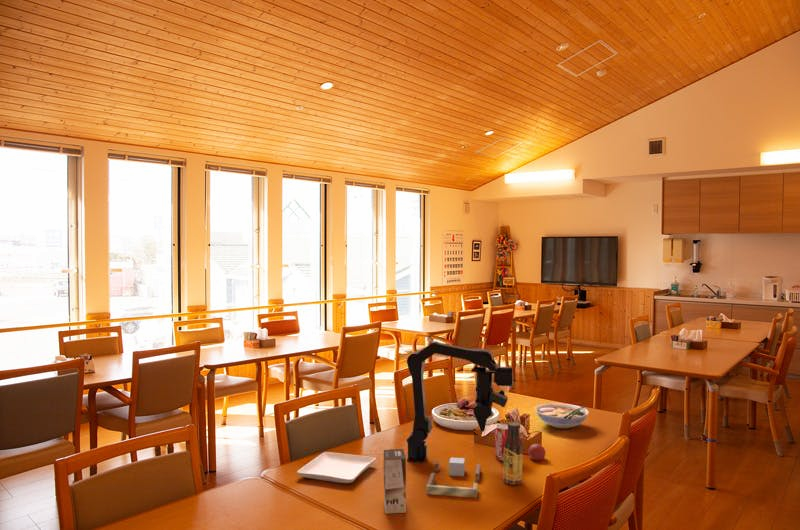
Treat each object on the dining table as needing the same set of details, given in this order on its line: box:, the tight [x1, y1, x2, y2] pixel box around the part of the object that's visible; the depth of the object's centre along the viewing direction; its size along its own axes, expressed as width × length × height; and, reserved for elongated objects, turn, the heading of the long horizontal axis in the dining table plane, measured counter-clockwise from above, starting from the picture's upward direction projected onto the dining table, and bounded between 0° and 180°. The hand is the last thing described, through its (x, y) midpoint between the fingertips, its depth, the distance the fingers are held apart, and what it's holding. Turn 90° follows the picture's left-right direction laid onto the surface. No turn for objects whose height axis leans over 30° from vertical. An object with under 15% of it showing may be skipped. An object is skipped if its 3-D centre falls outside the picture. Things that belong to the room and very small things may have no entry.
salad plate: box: [296, 451, 377, 484], centre depth 200 cm, size 21×21×3 cm
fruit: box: [527, 443, 547, 462], centre depth 212 cm, size 6×6×8 cm
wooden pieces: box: [426, 460, 481, 499], centre depth 191 cm, size 16×22×2 cm
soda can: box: [494, 423, 508, 462], centre depth 213 cm, size 7×7×12 cm
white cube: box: [448, 457, 466, 477], centre depth 199 cm, size 5×5×4 cm
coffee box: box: [383, 448, 407, 515], centre depth 173 cm, size 9×6×16 cm
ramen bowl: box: [534, 402, 590, 430], centre depth 251 cm, size 25×23×8 cm
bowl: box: [431, 398, 500, 431], centre depth 259 cm, size 30×30×8 cm
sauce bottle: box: [502, 421, 524, 486], centre depth 190 cm, size 6×6×20 cm
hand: (483, 427), depth 207 cm, fingers open, 9 cm apart
